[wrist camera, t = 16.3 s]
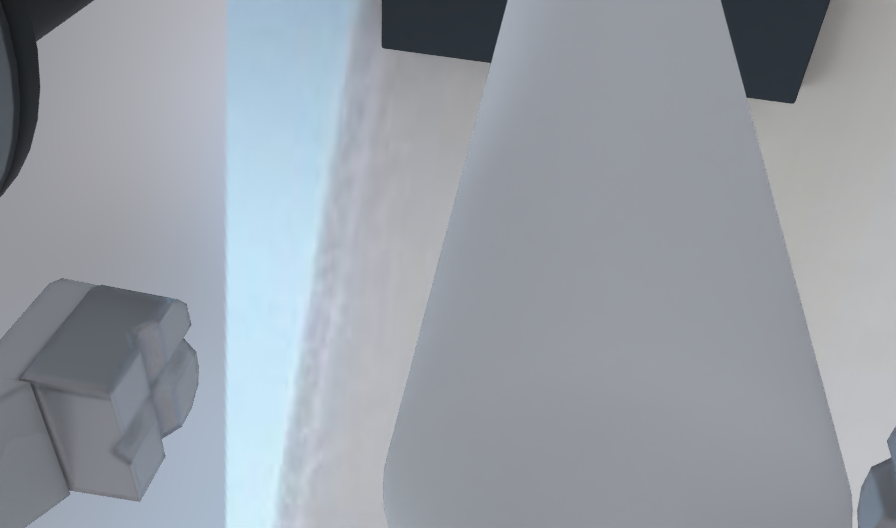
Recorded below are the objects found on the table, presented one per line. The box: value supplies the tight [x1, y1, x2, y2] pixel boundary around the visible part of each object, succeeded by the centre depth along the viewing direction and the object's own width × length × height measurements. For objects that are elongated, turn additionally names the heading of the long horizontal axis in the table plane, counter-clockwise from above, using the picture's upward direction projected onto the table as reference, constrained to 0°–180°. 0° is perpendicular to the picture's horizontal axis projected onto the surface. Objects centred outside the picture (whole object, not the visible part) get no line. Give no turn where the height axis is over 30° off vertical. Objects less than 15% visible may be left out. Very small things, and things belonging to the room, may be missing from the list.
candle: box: [383, 0, 852, 528], centre depth 15 cm, size 7×7×25 cm
